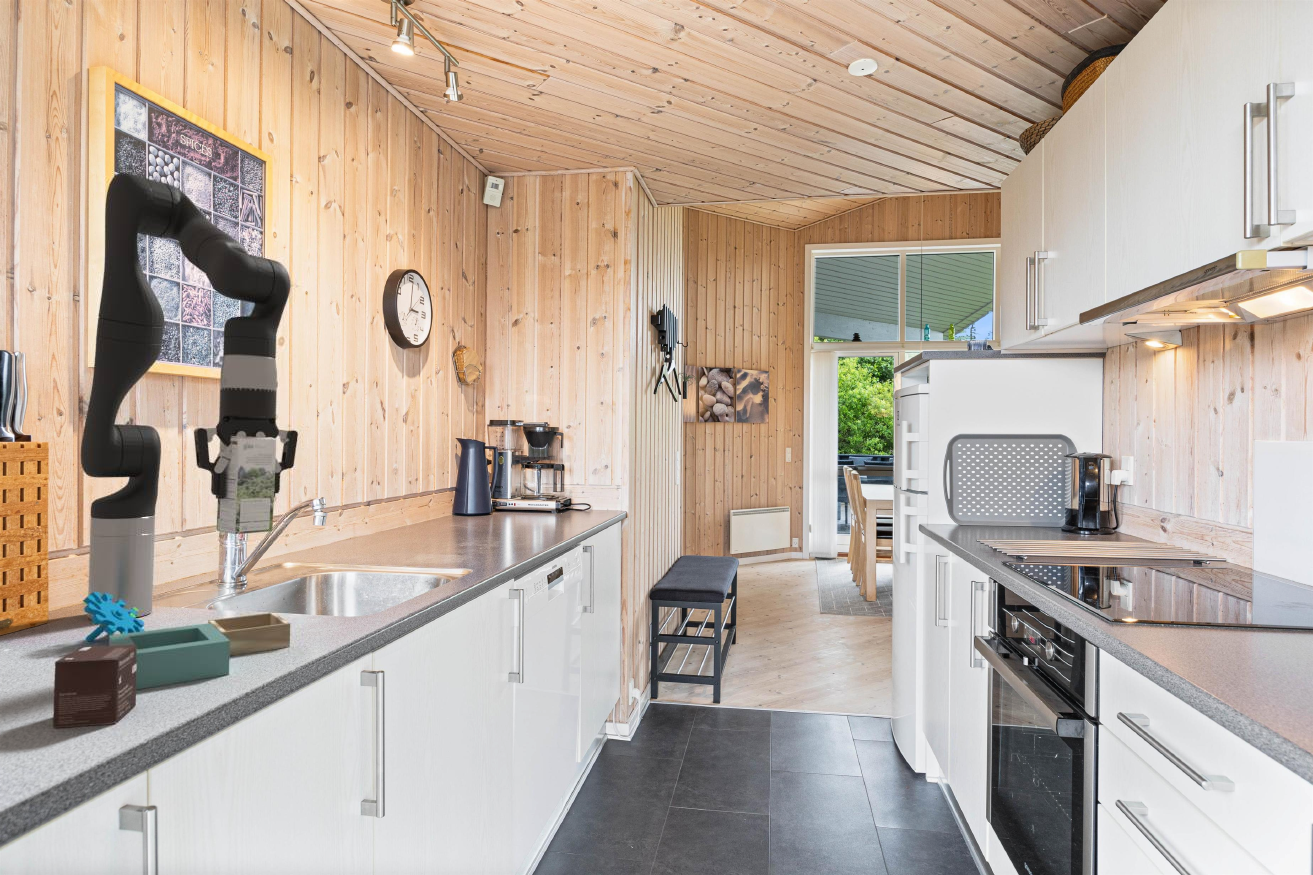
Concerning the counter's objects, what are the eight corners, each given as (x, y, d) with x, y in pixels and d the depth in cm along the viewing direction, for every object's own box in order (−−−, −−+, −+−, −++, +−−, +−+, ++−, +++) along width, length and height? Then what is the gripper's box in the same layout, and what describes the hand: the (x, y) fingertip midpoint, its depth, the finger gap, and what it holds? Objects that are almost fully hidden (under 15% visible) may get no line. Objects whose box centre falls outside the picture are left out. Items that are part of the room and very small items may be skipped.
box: (115, 725, 83) (117, 658, 83) (50, 729, 81) (52, 661, 81) (137, 706, 88) (138, 643, 88) (76, 709, 87) (78, 646, 87)
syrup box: (254, 528, 117) (256, 435, 118) (274, 531, 114) (276, 436, 114) (215, 531, 113) (218, 435, 113) (235, 535, 109) (238, 435, 109)
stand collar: (207, 642, 115) (208, 620, 115) (272, 633, 121) (273, 612, 121) (221, 656, 108) (222, 632, 108) (289, 646, 114) (290, 623, 114)
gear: (123, 639, 110) (77, 590, 110) (89, 669, 109) (43, 619, 109) (164, 630, 121) (122, 586, 121) (133, 657, 120) (91, 612, 120)
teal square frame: (108, 668, 102) (109, 635, 102) (209, 653, 110) (210, 623, 110) (119, 692, 93) (120, 655, 93) (228, 674, 101) (229, 640, 101)
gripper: (292, 391, 121) (289, 494, 121) (188, 385, 111) (185, 497, 111) (307, 389, 116) (303, 498, 115) (199, 383, 106) (196, 501, 106)
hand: (245, 497), depth 113 cm, fingers closed on syrup box, 6 cm apart
